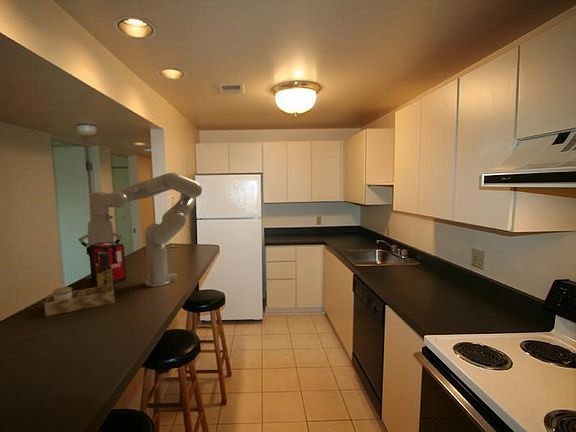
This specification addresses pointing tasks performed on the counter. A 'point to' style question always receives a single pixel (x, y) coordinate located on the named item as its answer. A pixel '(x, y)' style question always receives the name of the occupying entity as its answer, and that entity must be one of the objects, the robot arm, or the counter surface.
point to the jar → (62, 293)
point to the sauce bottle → (104, 270)
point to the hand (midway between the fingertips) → (101, 254)
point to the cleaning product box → (114, 259)
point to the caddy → (80, 300)
